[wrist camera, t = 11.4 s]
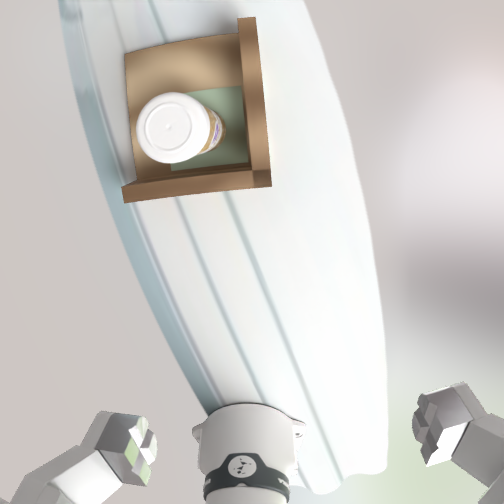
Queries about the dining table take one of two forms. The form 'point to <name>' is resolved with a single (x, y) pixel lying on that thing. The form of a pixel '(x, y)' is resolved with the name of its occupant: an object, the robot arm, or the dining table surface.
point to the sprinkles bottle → (178, 128)
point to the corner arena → (213, 97)
